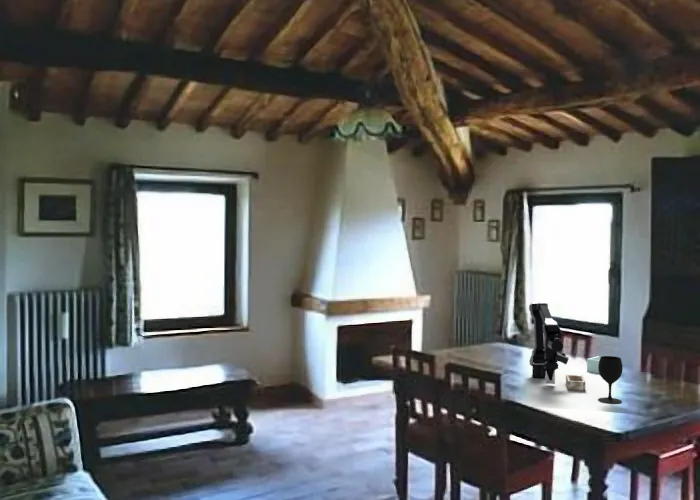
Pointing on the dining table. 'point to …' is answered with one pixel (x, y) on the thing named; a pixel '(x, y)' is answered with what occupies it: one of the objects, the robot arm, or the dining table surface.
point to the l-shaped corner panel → (593, 364)
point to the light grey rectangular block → (550, 380)
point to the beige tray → (575, 382)
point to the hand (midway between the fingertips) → (550, 379)
